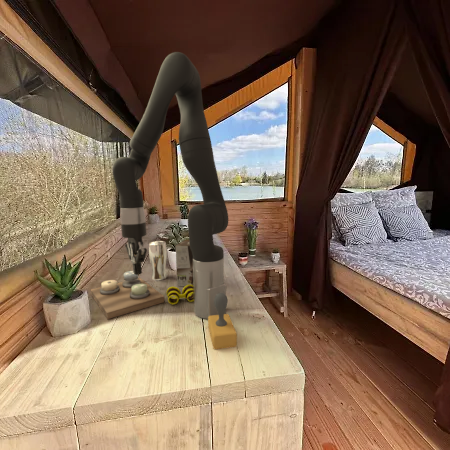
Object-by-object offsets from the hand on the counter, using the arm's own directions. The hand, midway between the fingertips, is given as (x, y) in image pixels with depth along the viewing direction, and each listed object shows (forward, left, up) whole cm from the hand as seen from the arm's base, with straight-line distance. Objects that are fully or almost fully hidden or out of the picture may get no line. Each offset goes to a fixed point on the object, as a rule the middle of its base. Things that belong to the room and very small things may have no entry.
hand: (137, 273), depth 89 cm
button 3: (+12, -1, -5) cm, 13 cm away
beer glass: (+17, -14, -10) cm, 24 cm away
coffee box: (+5, -21, -10) cm, 24 cm away
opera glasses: (-8, -12, -10) cm, 17 cm away
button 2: (+1, 0, -7) cm, 7 cm away
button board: (+6, +3, -10) cm, 12 cm away
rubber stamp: (-33, -9, -10) cm, 36 cm away
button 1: (+11, +7, -7) cm, 14 cm away
